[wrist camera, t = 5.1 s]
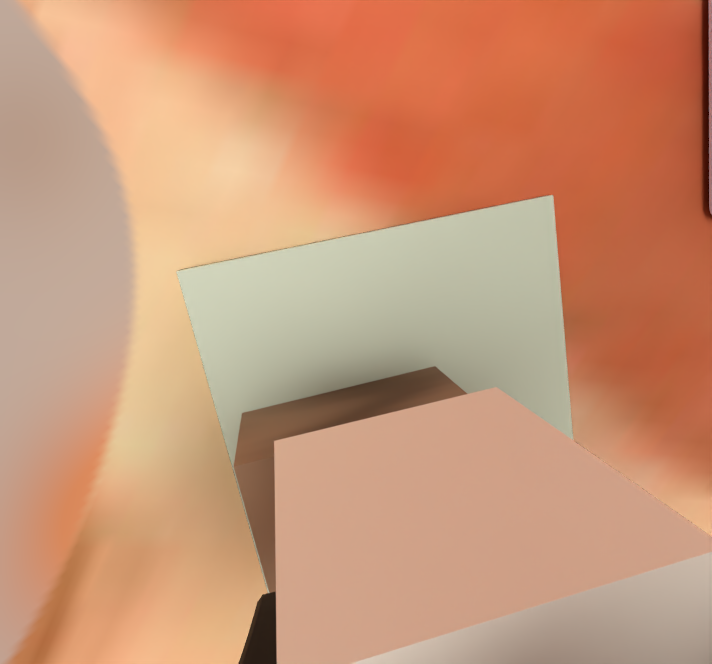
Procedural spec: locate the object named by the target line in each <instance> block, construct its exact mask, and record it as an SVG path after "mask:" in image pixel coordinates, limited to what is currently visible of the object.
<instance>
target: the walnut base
mask: <svg viewBox="0 0 712 664" xmlns="http://www.w3.org/2000/svg"><path fill="white" fill-rule="evenodd" d="M465 394H467V393H466V392H465V391H464V390H462V389H461V388H460V387H459V386H458V385H457V384H455V383H454V382H453V381H452V380H451V379H450V378H448V377H447V376H446V375H445V374H444V373H443V372H441V371H440V370H439V369H438V368H437V367H436V366H433V367H429V368H425V369H421V370H417V371H413V372H409V373H405V374H400V375H396V376H392V377H388V378H384V379H380V380H376V381H372V382H368V383H363V384H359V385H355V386H351V387H347V388H343V389H339V390H335V391H331V392H326V393H322V394H318V395H314V396H310V397H306V398H302V399H298V400H294V401H289V402H285V403H281V404H277V405H273V406H269V407H265V408H261V409H257V410H252V411H248V412H244V413H242V416H241V422H240V429H239V435H238V441H237V447H236V454H235V460H234V466H233V467H234V471H235V474H236V478H237V481H238V485H239V488H240V492H241V495H242V499H243V502H244V506H245V509H246V513H247V516H248V520H249V523H250V527H251V530H252V534H253V537H254V541H255V544H256V548H257V551H258V555H259V558H260V562H261V565H262V569H263V572H264V576H265V580H266V583H267V587H268V590H269V593H271V592H275V591H276V557H275V470H274V441H276V440H280V439H284V438H288V437H292V436H297V435H301V434H305V433H309V432H313V431H317V430H321V429H325V428H330V427H334V426H338V425H342V424H346V423H350V422H354V421H358V420H362V419H367V418H371V417H375V416H379V415H383V414H387V413H391V412H395V411H400V410H404V409H408V408H412V407H416V406H420V405H424V404H428V403H432V402H437V401H441V400H445V399H449V398H453V397H457V396H461V395H465Z"/></svg>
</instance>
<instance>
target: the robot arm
mask: <svg viewBox="0 0 712 664" xmlns="http://www.w3.org/2000/svg"><path fill="white" fill-rule="evenodd" d="M709 209H710V213H711V214H712V0H709ZM239 664H277V643H276V591H275V592H271V593H268V594H264V595H262V597H261V598H260V600H259V601H258V602H257V606H256V610H255V613H254V617H253V620H252V624H251V627H250V630H249V634H248V637H247V640H246V643H245V646H244V649H243V652H242V655H241V658H240V661H239Z"/></svg>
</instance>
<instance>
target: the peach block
mask: <svg viewBox="0 0 712 664" xmlns="http://www.w3.org/2000/svg"><path fill="white" fill-rule="evenodd" d="M274 470H275V557H276V643H277V664H712V536H710V535H709V534H707V533H706V532H704V531H703V530H702V529H700V528H699V527H697V526H696V525H694V524H693V523H691V522H690V521H689V520H687V519H686V518H684V517H683V516H681V515H680V514H678V513H677V512H676V511H674V510H673V509H671V508H670V507H668V506H667V505H666V504H664V503H663V502H661V501H660V500H658V499H657V498H655V497H654V496H653V495H651V494H650V493H648V492H647V491H645V490H644V489H643V488H641V487H640V486H638V485H637V484H635V483H634V482H632V481H631V480H630V479H628V478H627V477H625V476H624V475H622V474H621V473H619V472H618V471H617V470H615V469H614V468H612V467H611V466H609V465H608V464H607V463H605V462H604V461H602V460H601V459H599V458H598V457H596V456H595V455H594V454H592V453H591V452H589V451H588V450H586V449H585V448H584V447H582V446H581V445H579V444H578V443H576V442H575V441H573V440H572V439H571V438H569V437H568V436H566V435H565V434H563V433H562V432H560V431H559V430H558V429H556V428H555V427H553V426H552V425H550V424H549V423H548V422H546V421H545V420H543V419H542V418H540V417H539V416H537V415H536V414H535V413H533V412H532V411H530V410H529V409H527V408H526V407H525V406H523V405H522V404H520V403H519V402H517V401H516V400H514V399H513V398H512V397H510V396H509V395H507V394H506V393H504V392H503V391H502V390H500V389H499V388H497V387H494V388H490V389H486V390H482V391H478V392H474V393H470V394H465V395H461V396H457V397H453V398H449V399H445V400H441V401H437V402H432V403H428V404H424V405H420V406H416V407H412V408H408V409H404V410H400V411H395V412H391V413H387V414H383V415H379V416H375V417H371V418H367V419H362V420H358V421H354V422H350V423H346V424H342V425H338V426H334V427H330V428H325V429H321V430H317V431H313V432H309V433H305V434H301V435H297V436H292V437H288V438H284V439H280V440H276V441H274Z"/></svg>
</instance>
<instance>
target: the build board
mask: <svg viewBox="0 0 712 664" xmlns="http://www.w3.org/2000/svg"><path fill="white" fill-rule="evenodd" d="M176 272H177V276H178V279H179V283H180V286H181V290H182V293H183V297H184V300H185V304H186V307H187V311H188V314H189V318H190V321H191V325H192V328H193V332H194V335H195V339H196V342H197V346H198V349H199V353H200V356H201V360H202V363H203V367H204V370H205V374H206V377H207V381H208V384H209V388H210V391H211V395H212V398H213V402H214V405H215V409H216V412H217V416H218V419H219V423H220V426H221V430H222V433H223V437H224V440H225V444H226V447H227V451H228V454H229V458H230V461H231V465H232V468H233V472H234V475H235V479H236V482H237V486H238V489H239V493H240V496H241V500H242V503H243V507H244V510H245V514H246V517H247V521H248V524H249V528H250V531H251V535H252V538H253V542H254V545H255V549H256V552H257V556H258V559H259V563H260V566H261V570H262V573H263V577H264V580H265V576H264V572H263V569H262V565H261V562H260V558H259V555H258V551H257V548H256V544H255V541H254V537H253V534H252V530H251V527H250V523H249V520H248V516H247V513H246V509H245V506H244V502H243V499H242V495H241V492H240V488H239V485H238V481H237V478H236V474H235V471H234V467H233V466H234V460H235V454H236V447H237V441H238V435H239V429H240V422H241V416H242V413H244V412H248V411H252V410H257V409H261V408H265V407H269V406H273V405H277V404H281V403H285V402H289V401H294V400H298V399H302V398H306V397H310V396H314V395H318V394H322V393H326V392H331V391H335V390H339V389H343V388H347V387H351V386H355V385H359V384H363V383H368V382H372V381H376V380H380V379H384V378H388V377H392V376H396V375H400V374H405V373H409V372H413V371H417V370H421V369H425V368H429V367H433V366H436V367H437V368H438V369H439V370H440V371H441V372H443V373H444V374H445V375H446V376H447V377H448V378H450V379H451V380H452V381H453V382H454V383H455V384H457V385H458V386H459V387H460V388H461V389H462V390H464V391H465V392H466V393H467V394H470V393H474V392H478V391H482V390H486V389H490V388H494V387H497V388H499V389H500V390H502V391H503V392H504V393H506V394H507V395H509V396H510V397H512V398H513V399H514V400H516V401H517V402H519V403H520V404H522V405H523V406H525V407H526V408H527V409H529V410H530V411H532V412H533V413H535V414H536V415H537V416H539V417H540V418H542V419H543V420H545V421H546V422H548V423H549V424H550V425H552V426H553V427H555V428H556V429H558V430H559V431H560V432H562V433H563V434H565V435H566V436H568V437H569V438H571V439H572V440H573V431H572V419H571V406H570V394H569V382H568V370H567V358H566V346H565V334H564V321H563V309H562V297H561V285H560V273H559V261H558V249H557V236H556V224H555V212H554V200H553V195H547V196H541V197H536V198H531V199H526V200H521V201H517V202H512V203H507V204H502V205H497V206H492V207H487V208H482V209H477V210H472V211H467V212H462V213H457V214H452V215H448V216H443V217H438V218H433V219H428V220H423V221H418V222H413V223H408V224H403V225H398V226H393V227H388V228H384V229H379V230H374V231H369V232H364V233H359V234H354V235H349V236H344V237H339V238H334V239H329V240H324V241H320V242H315V243H310V244H305V245H300V246H295V247H290V248H285V249H280V250H275V251H270V252H265V253H260V254H256V255H251V256H246V257H241V258H236V259H231V260H226V261H221V262H216V263H211V264H206V265H201V266H196V267H192V268H187V269H182V270H178V271H176ZM265 584H266V588H267V591H268V593H269V590H268V587H267V583H266V580H265Z"/></svg>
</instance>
